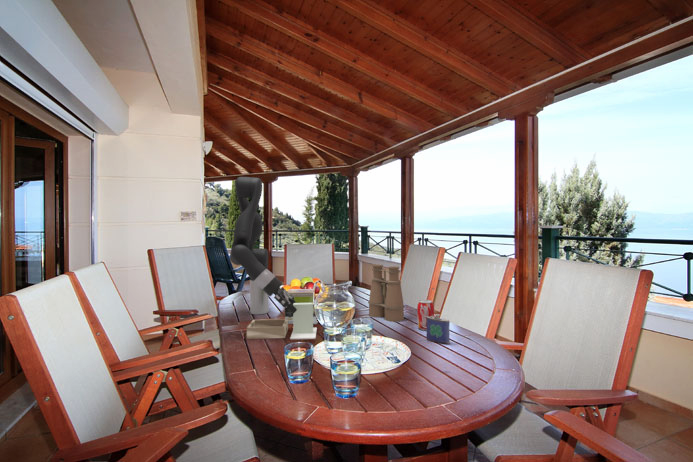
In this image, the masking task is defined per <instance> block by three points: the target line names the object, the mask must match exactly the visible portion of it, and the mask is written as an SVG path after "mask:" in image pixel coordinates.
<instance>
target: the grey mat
mask: <svg viewBox="0 0 693 462" xmlns="http://www.w3.org/2000/svg"><path fill="white" fill-rule="evenodd" d="M317 330H318V328H317V327H313V333H297V334H294V332H293V331H292V332H291V335H290V337H289V339H290V340H316V338H317V332H318V331H317Z"/></svg>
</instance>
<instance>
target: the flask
mask: <svg viewBox="0 0 693 462" xmlns="http://www.w3.org/2000/svg"><path fill="white" fill-rule="evenodd" d="M440 315H441V314H439V313H436V314H435V313H434V316H433V317H432V316H430V317H427V331H426V334H425V335H426V341H428V342H432V343H437V344H442V345H449V344H450V342H451V341H450V320H449V319H447V318H440Z"/></svg>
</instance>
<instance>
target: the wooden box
mask: <svg viewBox="0 0 693 462" xmlns="http://www.w3.org/2000/svg"><path fill="white" fill-rule="evenodd" d="M288 330H289V324H288V319H285V318H279V319H278V318H276V319H275V318H273V319H270V318H269V319H267V318H266V319H252V321H251V322H250V323H249V324H248V325H247V326H246V339H247V340H254V339H255V340H257V339H258V340H259V339H285V338H286V336H287V333H288Z"/></svg>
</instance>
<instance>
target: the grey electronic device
mask: <svg viewBox="0 0 693 462" xmlns="http://www.w3.org/2000/svg"><path fill="white" fill-rule="evenodd" d="M313 289H314V288H311V289H310V288H297V289H296V288H290V289H287V290H286V291H287V292H288V293H289V294H290V295H292V298H293V300H294V301H296V302H297V303H313ZM284 319H288V325H293V313H292V312H291V311H290V310H289V309H288V308H286V307H285V308H284ZM318 323H319V321H317V319H316V316H315V313H314V306H313V325H318Z"/></svg>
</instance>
